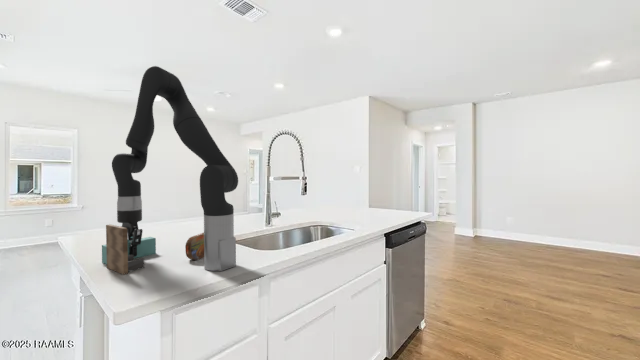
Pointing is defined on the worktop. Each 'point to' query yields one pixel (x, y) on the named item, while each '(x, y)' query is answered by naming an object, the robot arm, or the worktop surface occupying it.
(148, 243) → the rail
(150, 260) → the worktop surface
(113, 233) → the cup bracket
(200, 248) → the tin
